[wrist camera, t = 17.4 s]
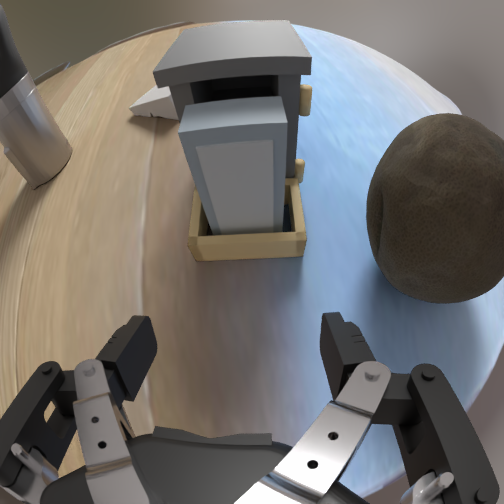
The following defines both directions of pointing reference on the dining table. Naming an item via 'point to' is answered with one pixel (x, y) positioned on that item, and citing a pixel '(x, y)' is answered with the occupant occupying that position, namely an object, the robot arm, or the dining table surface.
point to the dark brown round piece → (439, 210)
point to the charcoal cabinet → (236, 87)
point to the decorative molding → (155, 104)
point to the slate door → (238, 162)
